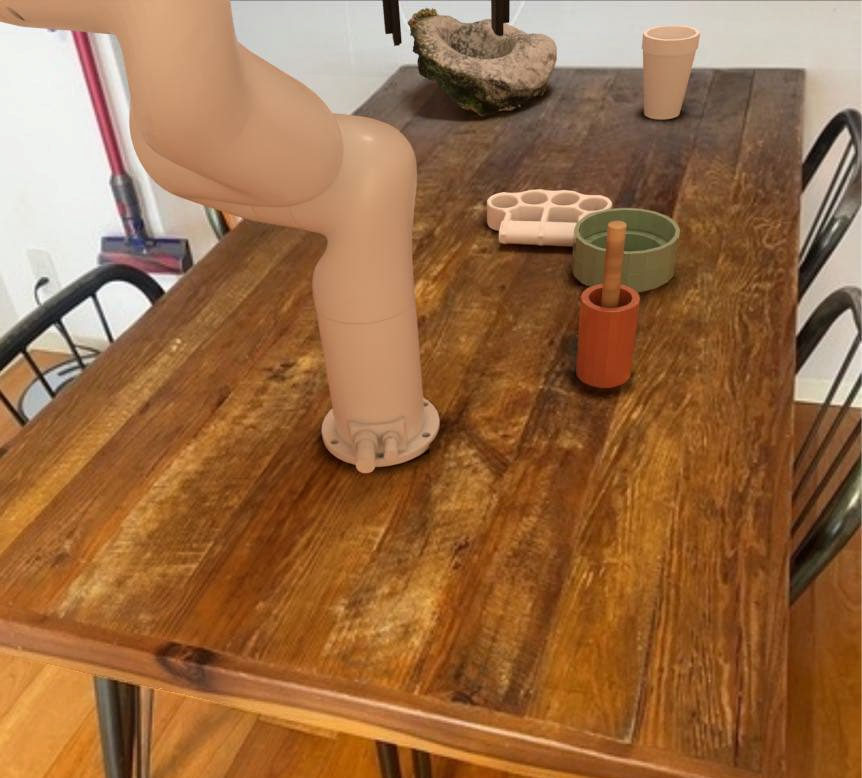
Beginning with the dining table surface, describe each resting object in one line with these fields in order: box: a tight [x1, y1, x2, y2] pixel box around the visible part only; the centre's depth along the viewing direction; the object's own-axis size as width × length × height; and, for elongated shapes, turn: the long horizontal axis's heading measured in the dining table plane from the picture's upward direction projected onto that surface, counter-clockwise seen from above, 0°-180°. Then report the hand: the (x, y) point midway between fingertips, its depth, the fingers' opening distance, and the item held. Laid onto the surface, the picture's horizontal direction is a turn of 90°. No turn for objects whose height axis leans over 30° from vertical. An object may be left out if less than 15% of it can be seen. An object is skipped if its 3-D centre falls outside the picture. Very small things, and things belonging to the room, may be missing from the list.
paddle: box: [601, 221, 627, 308], centre depth 90 cm, size 2×3×17 cm
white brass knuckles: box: [486, 188, 613, 248], centre depth 123 cm, size 3×18×15 cm
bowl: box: [571, 207, 681, 293], centre depth 111 cm, size 13×13×6 cm
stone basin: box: [407, 6, 558, 117], centre depth 164 cm, size 29×30×15 cm
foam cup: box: [641, 24, 701, 120], centre depth 151 cm, size 10×9×13 cm
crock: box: [575, 284, 641, 389], centre depth 93 cm, size 6×6×10 cm
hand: (447, 37), depth 81 cm, fingers open, 9 cm apart
